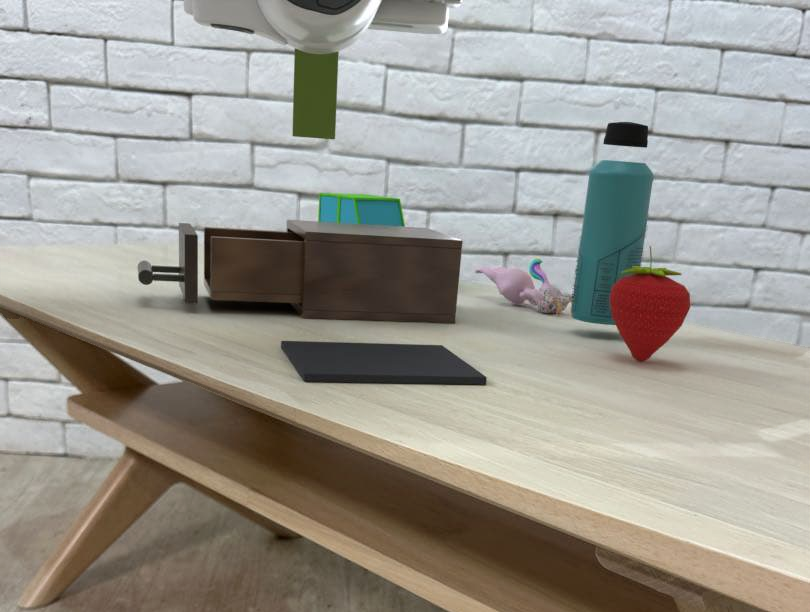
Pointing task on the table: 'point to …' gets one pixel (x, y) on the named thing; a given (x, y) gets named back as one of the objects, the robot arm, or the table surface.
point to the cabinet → (378, 272)
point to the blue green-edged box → (360, 209)
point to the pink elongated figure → (527, 287)
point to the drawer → (236, 265)
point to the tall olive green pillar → (315, 95)
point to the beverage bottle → (611, 225)
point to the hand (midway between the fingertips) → (317, 6)
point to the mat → (379, 363)
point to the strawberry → (648, 308)
